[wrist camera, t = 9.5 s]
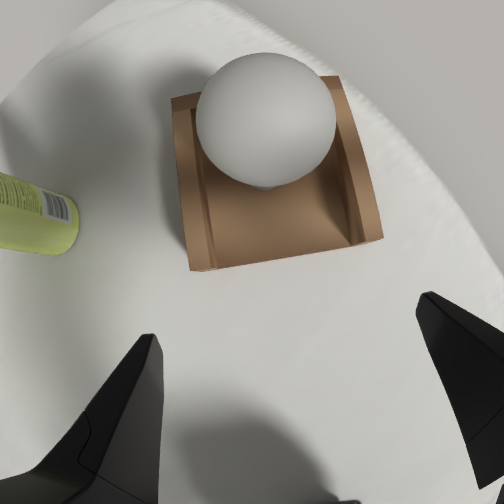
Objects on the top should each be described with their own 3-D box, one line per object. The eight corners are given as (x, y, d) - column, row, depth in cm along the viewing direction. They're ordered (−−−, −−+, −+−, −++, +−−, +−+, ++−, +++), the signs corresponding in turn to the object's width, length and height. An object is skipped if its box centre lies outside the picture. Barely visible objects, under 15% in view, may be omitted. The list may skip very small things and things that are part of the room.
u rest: (364, 244, 21) (383, 238, 17) (201, 271, 21) (189, 270, 17) (328, 101, 22) (338, 75, 18) (183, 122, 22) (171, 98, 18)
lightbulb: (310, 142, 21) (349, 37, 10) (304, 226, 20) (352, 166, 9) (225, 133, 21) (201, 22, 10) (212, 215, 20) (164, 146, 9)
